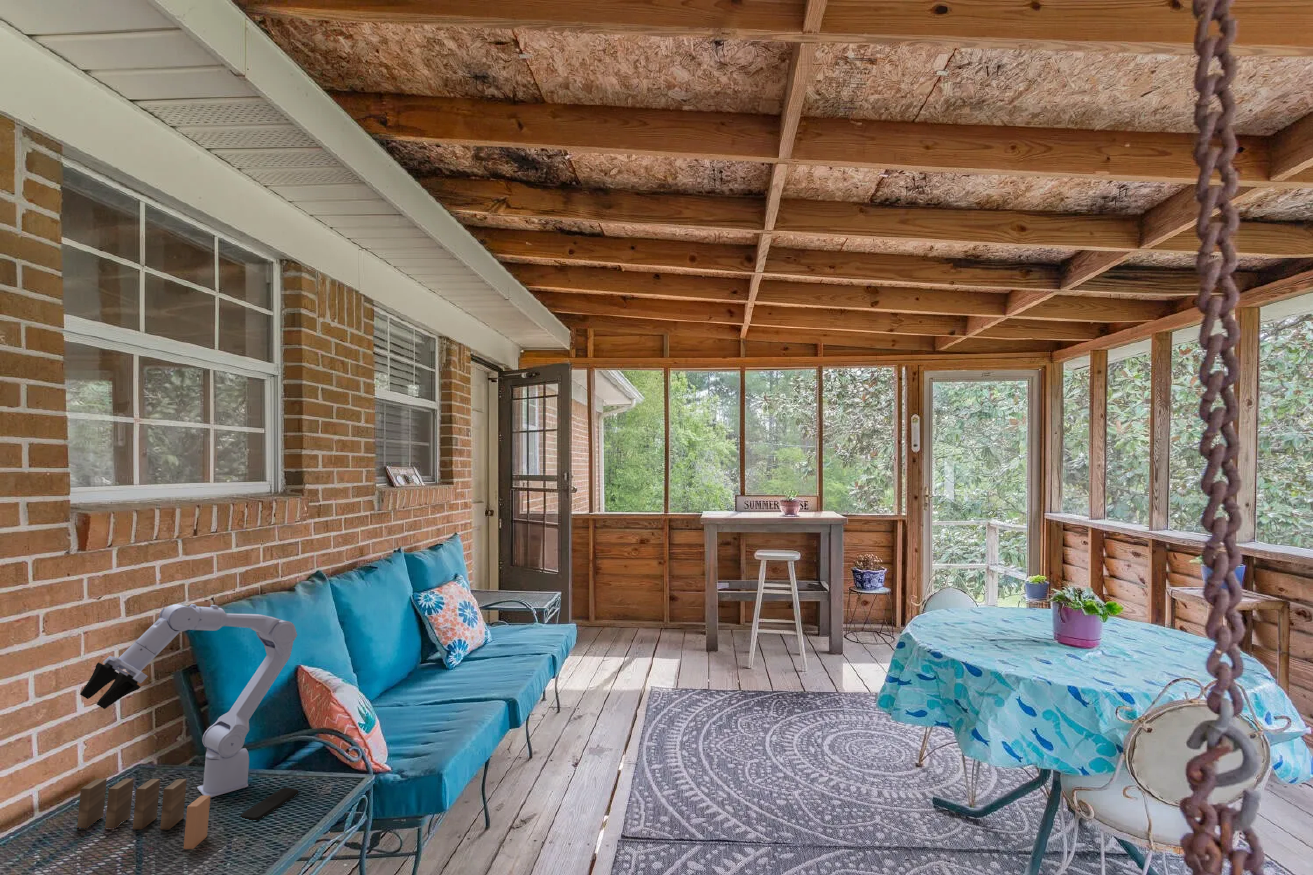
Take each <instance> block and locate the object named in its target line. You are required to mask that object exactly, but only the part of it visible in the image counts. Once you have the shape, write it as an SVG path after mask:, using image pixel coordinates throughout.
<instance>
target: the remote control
mask: <svg viewBox="0 0 1313 875" xmlns="http://www.w3.org/2000/svg"><path fill="white" fill-rule="evenodd" d="M298 793H299V789H296V788H291V787H283V788H280V789H279V790H277V791H275V792H274V793H272V794H271V795H269V796H268V797H266V798H265V799H263V800H261V801H259V802H258V803H257V804H255V805H253V806H251V807H250V808H249V809H247V810H245V811H244V812H242V813H241V814H240V817H242V818H245V819H249V820H258V821H259V819H260V818H261V819H263V818H264V817H266V816H267V815H269V814H271V813H272V812H273V810H274V809H275V810H276V808H277V809H279V808H280V807H281V806H282V804H283V803H284V804H285V802H286V801H287V802H289V801H290V800H292V799H293V798H295V797H296V796H297V795H296V794H298ZM299 794H300V793H299ZM299 794H298V795H299ZM295 795H296V796H295ZM294 796H295V797H294ZM291 798H292V799H291ZM287 802H286V803H287ZM284 804H283V805H284ZM275 810H274V811H275ZM270 812H271V813H270ZM265 815H266V816H265ZM263 816H264V817H263ZM240 817H239V818H240ZM262 817H263V818H262ZM261 819H260V820H261Z"/></svg>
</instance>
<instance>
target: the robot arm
mask: <svg viewBox="0 0 1313 875" xmlns="http://www.w3.org/2000/svg"><path fill="white" fill-rule="evenodd" d="M223 627H232V628H233V627H234V628H245V629H247V628H248V629H251V630H252V631H254V632H255V633H256V636H257V638H258V639H259V640H260V642H261V643H262V644H263V645H264V646H263V647H264V649H265V653H266V656H265V657H264V659H263V661H262V662H261V663H260V665H259V666H258V667H257V669H256V671H255V673H253V675H252V677H251V678H250V680H249V681H248V682H247V684H246V685H245V687H244V688H243V689H242V691H241V693H240V694H239V696H238V697H237V699H236V701H235V702H234V703H233V705H232V706H231V708H230V709H229V710H228V711H227V712H226V713H224V714H222V715H221V716H219V717H218V718H217V720H216V721H215V722H214V723H213V724H211V725H210V726H209V727H208V728H207V729H206V730H205V732H204V733H203V735H202V744H203V746H204V747H205V748H206V752H205V759H204V760H205V763H204V771H203V772H204V774H203V784H201V785H198V786H197V788H196V789H197V790H198V791H199V792H200V793H201V795H210V799H212V798H214V797H217V796H221V795H223V794H228V793H230V792H234V791H237V790H241V789H245V788H247V787H249V784H248V780H249V778H248V777H249V769H250V768H249V767H250V756H249V751H248V750H247V748H246V747H244V748H243V746H244V744H245V740H246V739H245V738H246V737H247V734H248V733H249V731H250V723H249V722H250V719H251V717H252V716H253V715H254V712H255V711H256V710H257V708H258V707H259V705H260V703H261V702H262V700H263V699H264V697H265V696H266V695H267V693H268V691H269V690H270V688H271V686H273V684H274V682H275V681H276V680H277V677H279V674H280V673H281V671H282V670H283V668H284V667H285V666H286V664H287V663H288V661H289V659H290V657H291V655H292V650H293V646H294V641H295V640H296V638H297V636H298V633H297V629H296V626H295V624H294V623H293V622H291V621H290V620H289V621H288V620H283V619H281V618H280V619H279V618H277V617H274V616H270V615H269V616H268V615H264V614H260V613H259V614H258V613H230V612H229V613H227V612H225V610H224V608H222V607H219V605H217V604H211V605H210V606H198V605H197V604H194V603H192V604H190V605H189V606H186V605H183V604H177V603H176V604H175V603H174V604H172V605H169V606H167V607H165V608H164V607H163V608H162V609H161V611H160V612H159V614H158V618H157V620H156V621H155V622H154V623H153V624H152V625H151V626H150V627H148V629H146V631H144V632H143V633H142V635H140V636H139V638H137V639H136V640H135V641H134V642H133V643H132V644H131V645H129V647H128V648H127V649H126V650H125V651H124V652H123V653H122V654H121V655H120V656H118V657H116V656H115V655H114V656H112V655H109V656H108V657H107V658H106V659H104V660H103V661H102V663H101V662H97V663H96V664H95V668H94V671H93V672H92V674H91V676H90V678H89V680H88V681H87V683H86V684H85V686H84V687H83V689H82V690H81V692H80V693H79V695H80V696H81V697H83V698H85V699H87V700H89V699H91V698H92V697H94V696H96V694H97V693H98V692H99V691H101V690H102V688H104V687H105V686H107V685H108V684H109V683H111V682H113V683H112V684H111V685H110V686H109V688H108V689H107V690H106V691H105V692H104V694H102V696H101V697H100V698H99V700H98V701H97V702H96V705H97V706H98V707H100V708H102V709H103V710H106V709H107V708H109V707H110V706H112V705H114V703H116V702H117V701H119V700H120V699H121V698H123V697H126V696H127V695H129V694H131V693H133V692H136V691H138V690H139V689H141V686H140V685H139V684H142V683H143V682H144V681H145V680H146V679H147V678H148V677H149V676H148V675H147V674H146V673H144V672H143V670H144V669H145V668H146V667H147V666H148V665H149V664H150V663H151V662H152V661H153V660H154V659H155V658H156V657H157V656H158V655H159V654H160V653H161V652H162V651H163V650H164V649H165V648H166V647H167V646H168V645H169V644H170V643H171V642H172V641H173V640H174V639H175V638H176V636H178V635H179V634H180V633H181V632H186V631H188V630H190V631H191V630H192V631H211V632H212V631H214V632H215V631H218V630H220V629H221V628H223ZM124 670H125V671H124Z"/></svg>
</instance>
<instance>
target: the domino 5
mask: <svg viewBox="0 0 1313 875" xmlns="http://www.w3.org/2000/svg"><path fill="white" fill-rule="evenodd" d="M210 806H211V798H210V795H203V794H201V795H200V796H199V797H198V798H196V799H195V800H194V801H192V802H190V804H189V805H187V808H186V816H185V827H184V828H185V830H184V839H183V840H184V841H183V849H184V850H194V849H195V848H196V847H197V846H198V845H199V844H201V842H203V841H204V840H205V839H206V838H207V837H208V830H209V829H208V828H209V815H210Z"/></svg>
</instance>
